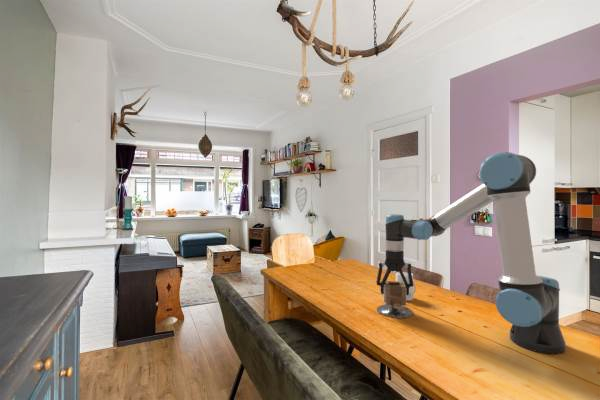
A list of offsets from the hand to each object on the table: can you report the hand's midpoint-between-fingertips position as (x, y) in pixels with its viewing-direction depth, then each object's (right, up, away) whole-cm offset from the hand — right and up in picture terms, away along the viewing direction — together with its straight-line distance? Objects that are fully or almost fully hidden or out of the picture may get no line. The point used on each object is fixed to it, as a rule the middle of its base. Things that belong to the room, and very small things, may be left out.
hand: (394, 301), depth 135 cm
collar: (0, 0, -2) cm, 2 cm away
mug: (+11, -4, +16) cm, 20 cm away
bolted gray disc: (0, -4, 0) cm, 4 cm away
